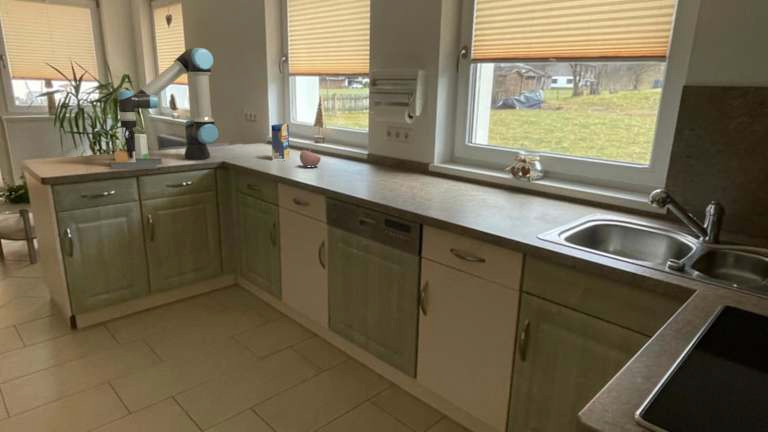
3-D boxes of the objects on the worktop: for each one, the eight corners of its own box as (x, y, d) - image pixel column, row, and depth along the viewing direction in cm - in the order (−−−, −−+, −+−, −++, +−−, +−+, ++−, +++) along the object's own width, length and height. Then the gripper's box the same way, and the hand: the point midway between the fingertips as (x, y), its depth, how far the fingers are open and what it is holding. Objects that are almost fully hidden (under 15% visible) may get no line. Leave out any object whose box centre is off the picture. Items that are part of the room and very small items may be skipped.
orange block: (131, 165, 267) (129, 151, 264) (128, 167, 261) (126, 152, 259) (119, 165, 265) (117, 151, 263) (116, 167, 259) (114, 152, 257)
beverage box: (289, 159, 309) (288, 124, 303) (282, 161, 299) (281, 125, 293) (279, 158, 310) (278, 123, 304) (272, 160, 300) (271, 125, 294)
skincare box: (142, 162, 278) (139, 135, 274) (131, 161, 278) (128, 134, 274) (149, 160, 286) (147, 133, 282) (138, 159, 286) (135, 133, 282)
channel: (162, 164, 274) (161, 158, 274) (156, 168, 260) (155, 162, 259) (119, 164, 269) (119, 158, 269) (111, 168, 255) (110, 162, 254)
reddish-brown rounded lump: (324, 168, 280) (324, 148, 277) (307, 169, 273) (306, 149, 270) (313, 165, 289) (313, 146, 286) (296, 166, 281) (295, 147, 278)
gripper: (123, 119, 263) (128, 161, 269) (117, 120, 251) (121, 165, 257) (138, 119, 265) (142, 161, 271) (132, 121, 252) (137, 165, 258)
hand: (132, 163), depth 264 cm, fingers closed
